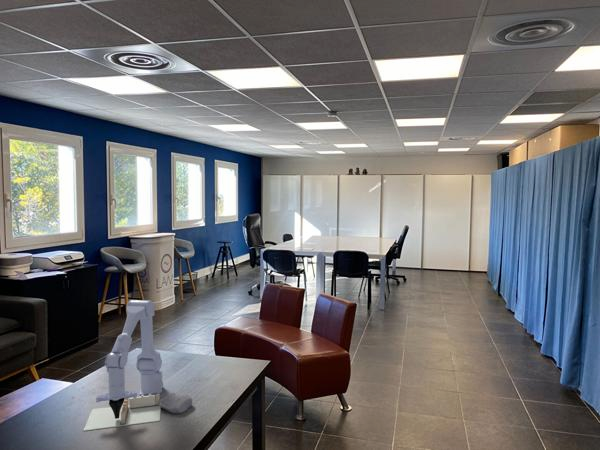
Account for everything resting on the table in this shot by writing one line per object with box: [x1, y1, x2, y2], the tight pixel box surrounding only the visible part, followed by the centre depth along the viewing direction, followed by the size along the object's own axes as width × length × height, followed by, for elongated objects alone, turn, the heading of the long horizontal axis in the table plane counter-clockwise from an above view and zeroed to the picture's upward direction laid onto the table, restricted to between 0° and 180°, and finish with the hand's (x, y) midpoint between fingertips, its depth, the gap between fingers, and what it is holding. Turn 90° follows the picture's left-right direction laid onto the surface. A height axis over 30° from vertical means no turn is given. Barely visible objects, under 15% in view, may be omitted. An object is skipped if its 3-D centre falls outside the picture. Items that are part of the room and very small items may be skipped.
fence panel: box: [121, 399, 128, 424], centre depth 168 cm, size 12×1×5 cm, turn 16°
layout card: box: [83, 401, 162, 432], centre depth 170 cm, size 27×17×1 cm, turn 106°
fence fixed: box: [124, 393, 161, 408], centre depth 176 cm, size 14×1×5 cm, turn 106°
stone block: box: [159, 392, 193, 414], centre depth 176 cm, size 12×5×10 cm
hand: (117, 417), depth 166 cm, fingers closed
